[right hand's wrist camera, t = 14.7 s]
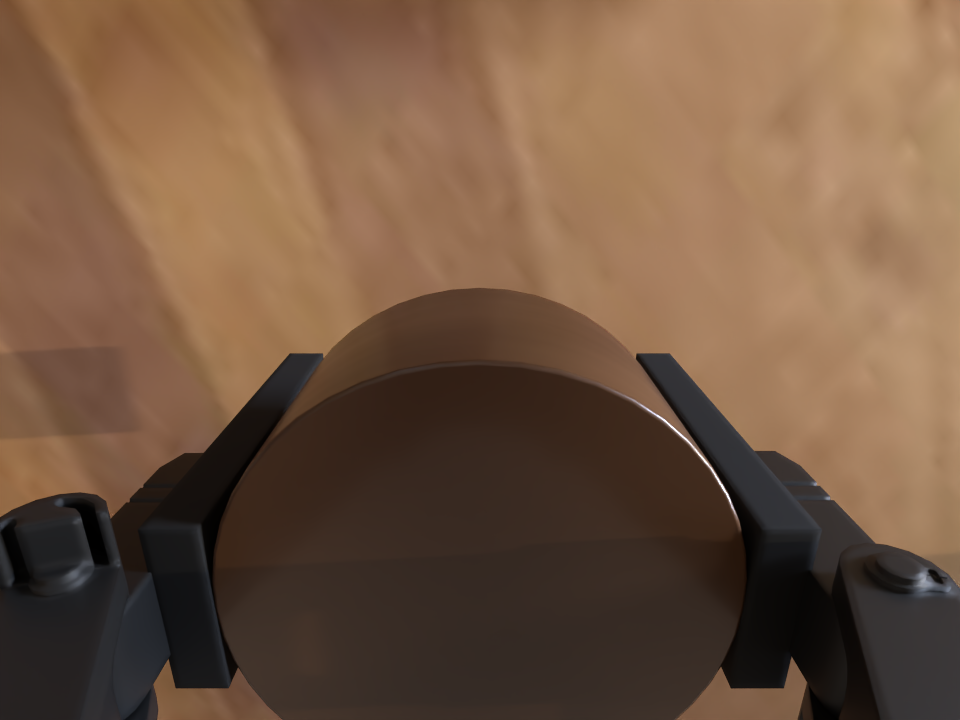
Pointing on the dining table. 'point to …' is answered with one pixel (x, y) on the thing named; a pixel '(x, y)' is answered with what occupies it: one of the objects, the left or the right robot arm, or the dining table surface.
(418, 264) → the dining table surface
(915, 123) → the dining table surface
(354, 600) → the brown cylinder
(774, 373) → the dining table surface
